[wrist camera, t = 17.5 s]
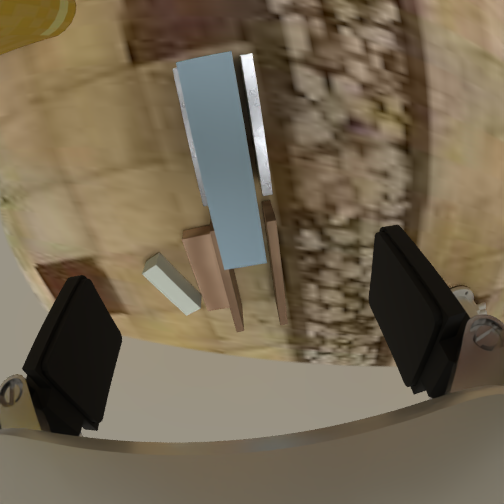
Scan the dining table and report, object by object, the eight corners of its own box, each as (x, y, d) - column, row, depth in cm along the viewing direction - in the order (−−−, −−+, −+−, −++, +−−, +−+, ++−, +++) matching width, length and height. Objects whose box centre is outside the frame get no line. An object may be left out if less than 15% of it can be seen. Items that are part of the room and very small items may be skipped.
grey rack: (248, 55, 27) (252, 53, 23) (266, 176, 35) (272, 194, 31) (180, 68, 27) (172, 68, 23) (206, 187, 35) (203, 206, 31)
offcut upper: (155, 264, 37) (142, 273, 38) (200, 308, 42) (186, 315, 42) (159, 251, 40) (146, 260, 40) (201, 293, 44) (188, 301, 45)
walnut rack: (270, 200, 37) (276, 220, 33) (282, 299, 46) (287, 323, 42) (211, 210, 37) (209, 231, 33) (235, 306, 46) (236, 332, 42)
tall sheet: (229, 58, 27) (231, 51, 14) (250, 179, 35) (266, 262, 22) (200, 64, 27) (176, 62, 14) (224, 184, 35) (224, 270, 22)
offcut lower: (211, 223, 38) (211, 233, 36) (232, 294, 45) (233, 306, 43) (184, 229, 38) (181, 239, 36) (208, 299, 45) (207, 311, 43)
